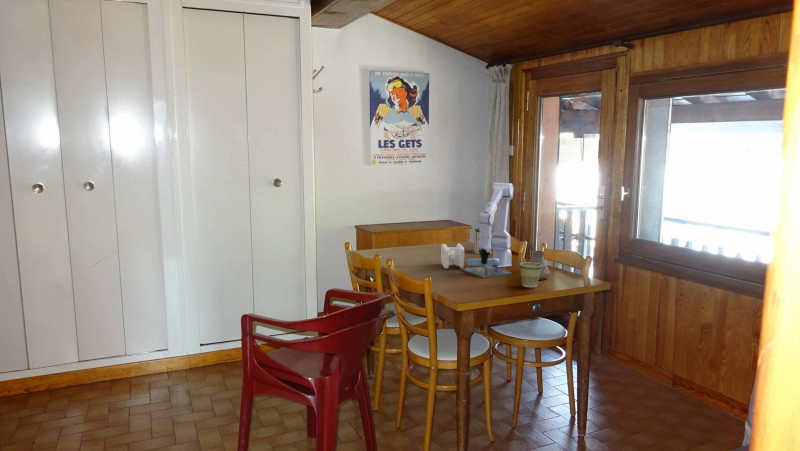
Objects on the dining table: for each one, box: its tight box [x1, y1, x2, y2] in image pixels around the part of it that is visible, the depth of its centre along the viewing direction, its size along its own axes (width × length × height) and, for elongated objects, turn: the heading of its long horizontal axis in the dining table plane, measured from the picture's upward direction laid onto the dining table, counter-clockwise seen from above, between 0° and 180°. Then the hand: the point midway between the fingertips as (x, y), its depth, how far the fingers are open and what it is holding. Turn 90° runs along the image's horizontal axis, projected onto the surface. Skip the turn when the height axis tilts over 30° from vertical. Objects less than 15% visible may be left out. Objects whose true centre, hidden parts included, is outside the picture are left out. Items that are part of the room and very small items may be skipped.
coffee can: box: [473, 227, 493, 255], centre depth 332 cm, size 10×10×14 cm
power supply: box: [480, 265, 495, 273], centre depth 280 cm, size 5×5×3 cm
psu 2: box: [470, 265, 485, 274], centre depth 277 cm, size 5×5×3 cm
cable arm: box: [467, 257, 499, 266], centre depth 281 cm, size 16×4×3 cm, turn 95°
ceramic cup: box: [519, 261, 545, 289], centre depth 257 cm, size 13×10×10 cm
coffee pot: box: [526, 241, 550, 281], centre depth 276 cm, size 21×12×15 cm, turn 3°
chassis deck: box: [460, 267, 513, 279], centre depth 282 cm, size 18×18×1 cm
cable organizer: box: [440, 243, 465, 270], centre depth 293 cm, size 15×11×12 cm
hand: (484, 264), depth 279 cm, fingers closed, pressing on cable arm
